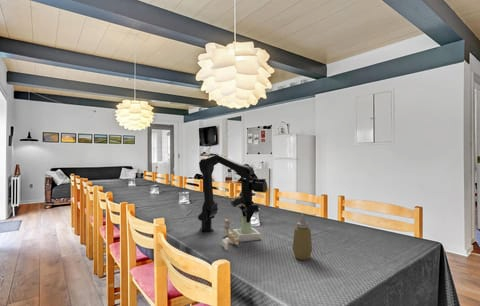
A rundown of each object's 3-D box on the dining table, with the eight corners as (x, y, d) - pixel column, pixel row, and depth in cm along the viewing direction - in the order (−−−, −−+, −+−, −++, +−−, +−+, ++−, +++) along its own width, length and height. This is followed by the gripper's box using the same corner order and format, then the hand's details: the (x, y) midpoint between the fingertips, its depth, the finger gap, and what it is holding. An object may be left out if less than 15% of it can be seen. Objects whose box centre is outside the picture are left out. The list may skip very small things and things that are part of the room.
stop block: (240, 232, 141) (240, 216, 141) (248, 231, 143) (248, 216, 142) (243, 234, 137) (243, 218, 137) (250, 233, 139) (250, 217, 139)
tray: (233, 235, 144) (233, 229, 143) (252, 233, 147) (252, 227, 147) (239, 241, 133) (239, 235, 133) (260, 239, 137) (260, 233, 137)
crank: (240, 244, 125) (240, 229, 125) (234, 244, 124) (234, 230, 124) (228, 230, 146) (228, 218, 146) (222, 231, 145) (223, 219, 145)
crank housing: (218, 240, 135) (218, 234, 135) (236, 238, 138) (236, 232, 138) (225, 250, 121) (225, 243, 121) (246, 247, 125) (246, 241, 125)
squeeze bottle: (297, 262, 109) (298, 217, 109) (289, 254, 117) (289, 212, 117) (315, 260, 111) (316, 216, 111) (306, 253, 119) (306, 211, 119)
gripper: (226, 189, 146) (226, 218, 146) (237, 194, 128) (237, 227, 129) (246, 188, 150) (245, 216, 150) (259, 193, 132) (259, 225, 132)
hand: (246, 221), depth 140 cm, fingers closed on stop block, 4 cm apart
